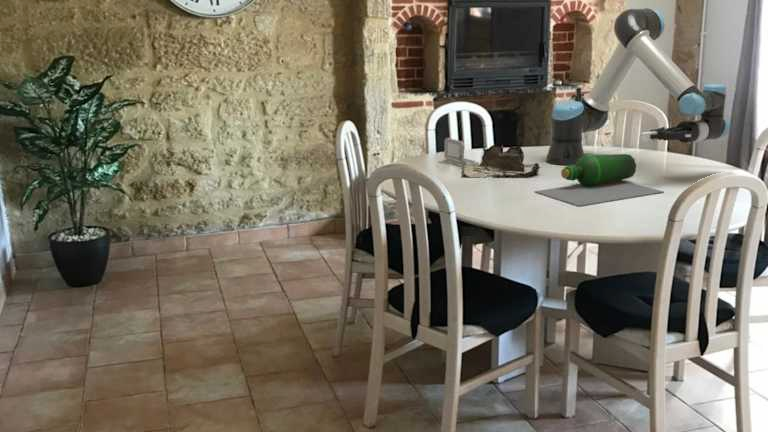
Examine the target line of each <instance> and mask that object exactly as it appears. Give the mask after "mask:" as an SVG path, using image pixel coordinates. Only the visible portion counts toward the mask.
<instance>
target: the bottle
mask: <svg viewBox="0 0 768 432" xmlns="http://www.w3.org/2000/svg"><path fill="white" fill-rule="evenodd" d="M584 155H585V154H584ZM636 169H637V163H636V160H635V158H634V157H633V156H632V155H631V154H627V153H623V154H622V153H620V154H592V155H591V154H589V155H588V154H587V155H585V156H583V157H581V158H579V159H578V161H577V162H576V164H575V165H565V166H564V168H563V169H561V177H562V178H563V179H565V180H567V181H578V183H580V184H582V185H584V186H593V185H598V184H603V183H608V182H613V181H618V180H622V181H624V180H627V179H630V178H632V177H634V175H635V173H636V172H637V170H636ZM580 184H579V185H580Z"/></svg>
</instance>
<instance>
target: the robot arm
mask: <svg viewBox="0 0 768 432" xmlns="http://www.w3.org/2000/svg"><path fill="white" fill-rule="evenodd" d="M613 24H614V25H613V31H614V35H615V37H616V39H617V40H618V44H617V46H616V48H615V49H614V51H613V53H612V54H611V56H610V57H609V59H608V61H607V63H606V65H605V66H604V68H603V69H602V71H601V73H600V75H599V76H598V78H597V80H596V82H595V83H594V85H593V86H592V88H591V90H590V92H587V93H585V94H584V95H583V96H582V97H581V100H580V101H575V100H572V101H571V100H569V101H563V102H558V103H556V104H555V105H553V109H552V115H551V117H552V121H551V122H552V123H551V141H550V142H551V143H550V145H549V148H548V152H547V154H546V158H545V159H546V161H545V162H547V163H549V164H551V165H552V164H553V165H559V166H569V165H575V164H576V162H577V161H578V159H579V158H581V157H583V156H585V154H584V148H583V143H582V140H583V139H582V138H583V134H584V133H589V132H595V131H597V130H599V129H601V128H603V127H605V126H606V124H607V122H608V120H609V116H610V115H609V111H610V109H611V105H610V102H611V100H612V98H613V97H614V95H615V94H616V93H617V90H618V89H619V88H620V86H621V84H622V82H623V81H624V79H625V78H626V76H627V74H628V72H630V69H631V68H632V66H633V65H634V63H635V61H636V59H637V58H638V59H639V60H640V61H641V62H642V65H644V66H645V68H647V69H648V71H650V73H652V75H653V76H654V77H655V78H656V79H657V80H658V81H659V82H660V84H661V85H663V86H664V88H665V89H666V90H667V91H668V92H669V94H671V95H672V97H674V99H675V100H676V101H677V102H678V108H679V111H680V113H682V114H683V115H684V116H687V117H696V116H699V115H700V118H699V119H692V120H684V121H680V122H679V123H678V124H677V125H676V126H672V127H667V128H666V127H665V126H662V127H660V128H655V129H650V130H649V131H646V132H645V131H644V132H639V142H651V141H652V142H655V141H657V140H658V141H674V140H675V141H676V140H677V141H679V142H681V143H682V144H686V143H693V142H694V143H696V144H697V143H698V142H701V141H708V140H717V139H723V138H724V137H725V136H727V134H728V133H729V131H730V124H729V122H728V120H727V118H724V115H725V114H724V113H725V107H726V106H725V105H726V98H727V87H726V85H725V84H721V83H719V84H718V83H709V84H705V85H703V88H702V91H701V90H700V89H699V88H698V87H697V86H696V85H695V84H694V83H693V82H692V81H691V80H690V78H689V77H688V76H687V75H686V74H685V73H684V72H683V71H682V70H681V68H680V67H679V66H678V65H677V64H676V63H675V62H674V61H673V60H672V59H671V58H670V57H669V55H667V54H666V52H665V51H664V50H662V49H663V48H661V47H660V46H659V45H658V44H657V43H656V42H655V41H656V40H657V39H659V38H661V36H662V35H663V32H664V30H665V19H664V17H663V15H662V14H661V12H659V11H658V10H656V9H653V8H647V7H646V8H630V9H629V8H628V9H627V10H623V11H621V12H620V13H619V15H618V16H617V17H616V18H615V21H614V23H613Z"/></svg>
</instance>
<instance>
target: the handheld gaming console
mask: <svg viewBox="0 0 768 432" xmlns="http://www.w3.org/2000/svg"><path fill="white" fill-rule="evenodd" d="M443 147H444V152H443V153H444V157H443V158H445V159H443V160H442V161H443V162H444V163H447V164H450V165H454V166H456V167H460V168H462V163H463V162H465V163H466V164H468V165H480V162H479V161H475V160H473V159H470V158H465V144H464V142H463V141H462V140H457V139H455V138H454V139H453V138H450V137H446V138H445V139H444V146H443Z"/></svg>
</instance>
